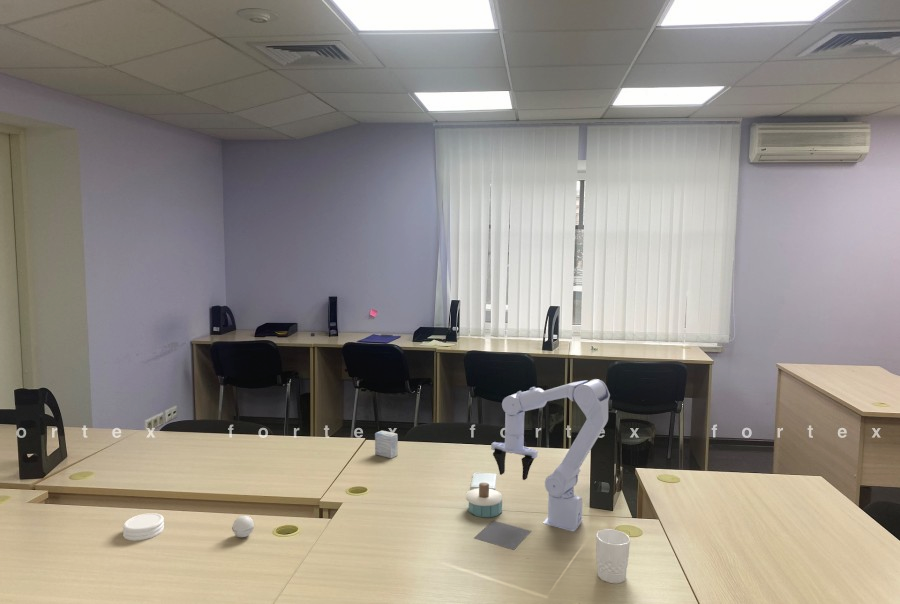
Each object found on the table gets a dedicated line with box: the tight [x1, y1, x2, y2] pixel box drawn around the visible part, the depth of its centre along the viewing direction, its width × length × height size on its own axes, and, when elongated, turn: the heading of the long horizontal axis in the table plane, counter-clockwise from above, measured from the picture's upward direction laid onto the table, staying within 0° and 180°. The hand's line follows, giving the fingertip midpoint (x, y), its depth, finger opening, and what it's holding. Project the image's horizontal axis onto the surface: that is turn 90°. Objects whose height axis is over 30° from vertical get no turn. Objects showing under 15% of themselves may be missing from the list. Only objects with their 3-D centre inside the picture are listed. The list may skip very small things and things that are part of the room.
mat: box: [473, 520, 532, 551], centre depth 159 cm, size 12×12×1 cm
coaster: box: [122, 512, 165, 542], centre depth 158 cm, size 10×10×4 cm
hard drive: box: [470, 472, 498, 490], centre depth 195 cm, size 2×8×12 cm
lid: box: [465, 483, 503, 506], centre depth 173 cm, size 11×11×4 cm
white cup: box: [595, 528, 631, 584], centre depth 140 cm, size 8×8×10 cm
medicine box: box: [374, 430, 399, 459], centre depth 220 cm, size 8×4×9 cm, turn 58°
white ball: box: [231, 515, 255, 538], centre depth 156 cm, size 8×6×6 cm
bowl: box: [468, 500, 503, 518], centre depth 174 cm, size 10×10×4 cm
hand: (513, 476), depth 176 cm, fingers open, 7 cm apart
